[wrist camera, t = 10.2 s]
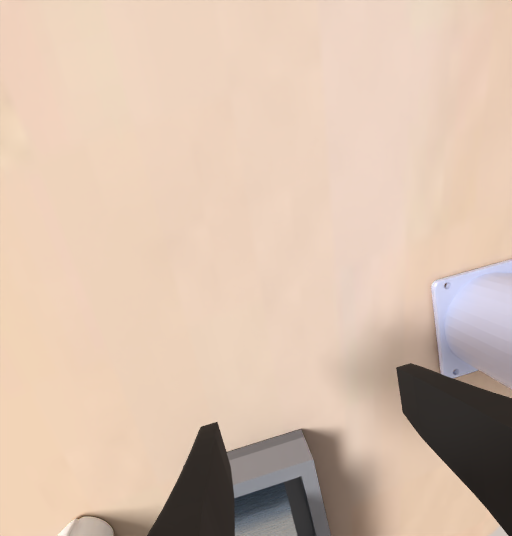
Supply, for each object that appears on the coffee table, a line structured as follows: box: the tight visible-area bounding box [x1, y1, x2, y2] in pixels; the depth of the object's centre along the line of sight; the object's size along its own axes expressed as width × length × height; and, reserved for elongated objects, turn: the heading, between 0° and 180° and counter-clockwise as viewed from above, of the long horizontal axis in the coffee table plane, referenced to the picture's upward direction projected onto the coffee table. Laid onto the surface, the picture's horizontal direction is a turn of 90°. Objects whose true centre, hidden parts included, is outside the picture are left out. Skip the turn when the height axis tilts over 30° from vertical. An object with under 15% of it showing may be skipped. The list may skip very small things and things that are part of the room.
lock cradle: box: [183, 429, 331, 536], centre depth 22 cm, size 9×12×3 cm
